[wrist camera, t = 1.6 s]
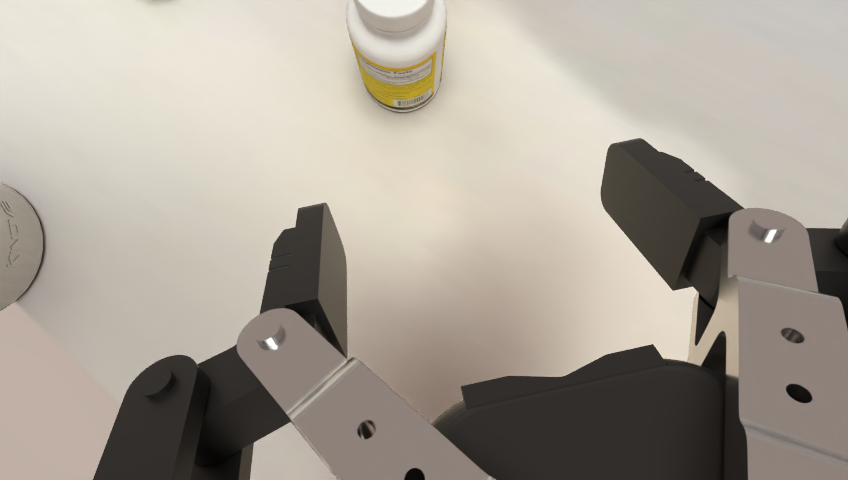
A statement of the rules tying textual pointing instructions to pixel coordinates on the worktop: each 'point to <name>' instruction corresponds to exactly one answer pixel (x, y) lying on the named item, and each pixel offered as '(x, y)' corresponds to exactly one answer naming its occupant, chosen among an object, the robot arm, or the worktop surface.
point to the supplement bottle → (399, 49)
